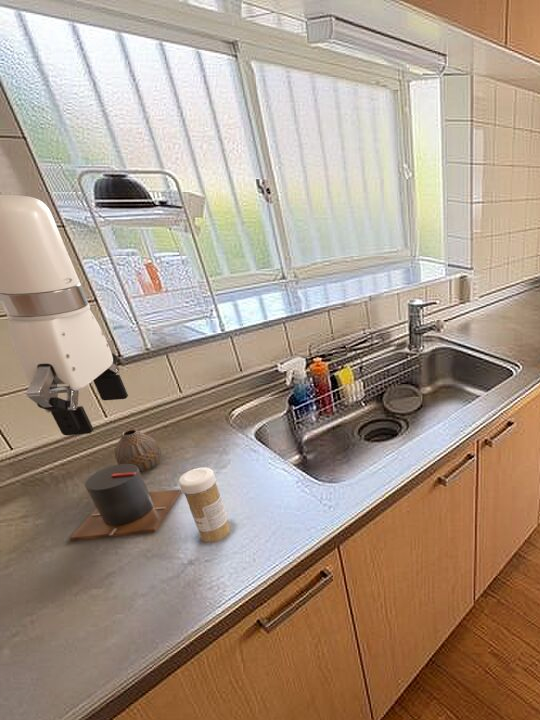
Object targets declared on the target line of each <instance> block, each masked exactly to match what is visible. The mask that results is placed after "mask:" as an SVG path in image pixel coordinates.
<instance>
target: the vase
mask: <svg viewBox="0 0 540 720" xmlns="http://www.w3.org/2000/svg"><path fill="white" fill-rule="evenodd" d="M161 457H162V451H161V447H160V445H159V443H158V442H157V440H155V438H153V437H152V436H151V435H148V434H145V433H142V432H140V431H139V430H137V429H136V428H132V429H131V428H130V429H126V430H125V431H123V432H122V433H121V435H120V439H119V440H118V442H117V443H116V446H115V448H114V458H115V461H116V463H117V465H119V464H133V465H136V466H137V467H138V469H139V471H140V473H143V472H145V471H149V470H150V469H152V468H154V467H155V466H157V465H158V464H159V462H160V461H161Z"/></svg>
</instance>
